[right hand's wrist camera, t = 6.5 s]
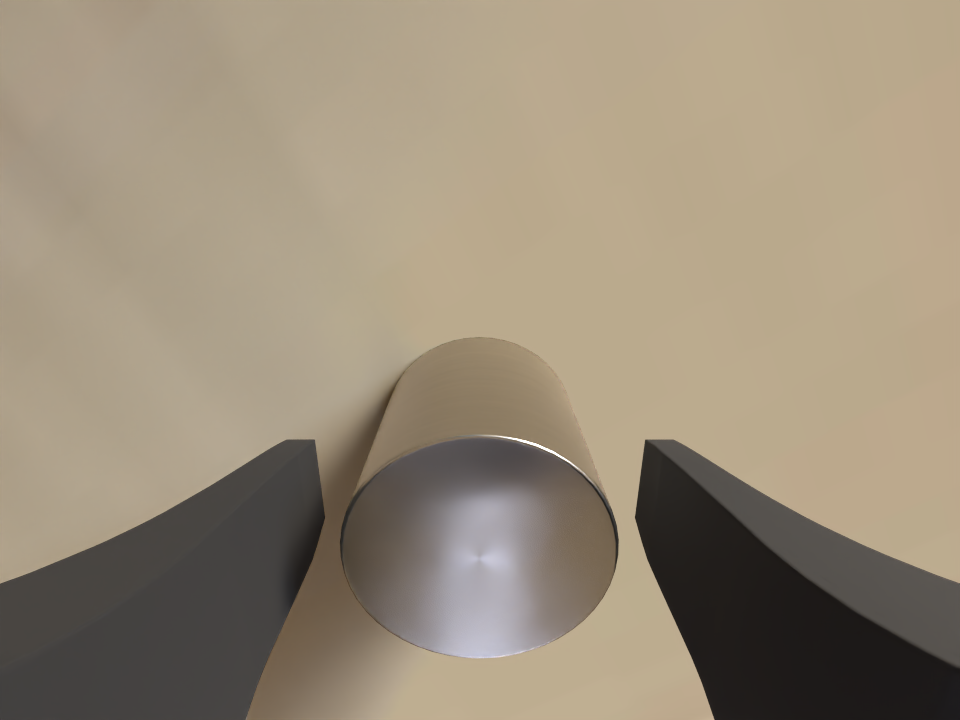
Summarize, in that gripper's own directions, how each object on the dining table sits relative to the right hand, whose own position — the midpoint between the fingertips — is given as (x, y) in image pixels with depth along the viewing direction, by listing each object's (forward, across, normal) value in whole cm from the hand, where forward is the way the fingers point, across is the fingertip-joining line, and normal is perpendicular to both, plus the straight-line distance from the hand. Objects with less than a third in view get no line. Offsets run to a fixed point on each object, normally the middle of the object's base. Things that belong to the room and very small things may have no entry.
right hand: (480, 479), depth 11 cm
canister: (+2, 0, 0) cm, 3 cm away
